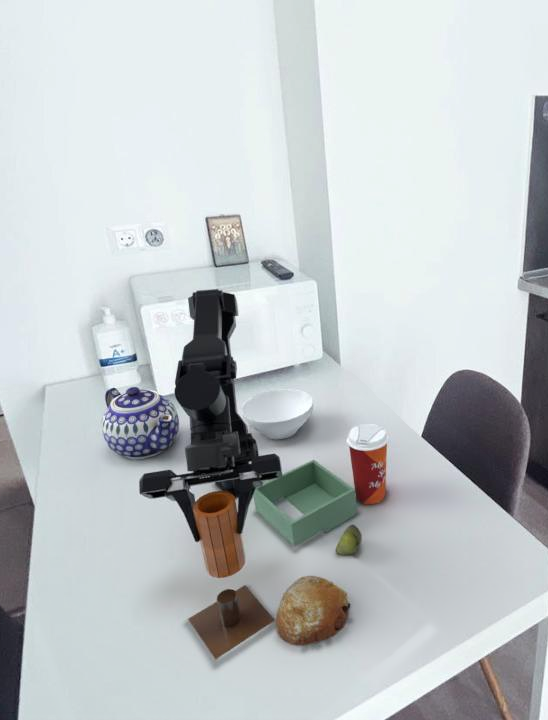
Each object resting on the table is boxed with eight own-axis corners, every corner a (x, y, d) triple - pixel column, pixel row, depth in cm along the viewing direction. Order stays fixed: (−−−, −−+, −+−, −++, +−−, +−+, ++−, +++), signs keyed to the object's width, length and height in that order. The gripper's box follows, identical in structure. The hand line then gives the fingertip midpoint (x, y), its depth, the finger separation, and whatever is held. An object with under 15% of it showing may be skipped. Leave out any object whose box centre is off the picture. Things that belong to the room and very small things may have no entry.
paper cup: (384, 510, 101) (382, 446, 95) (345, 505, 102) (340, 441, 96) (394, 485, 108) (393, 423, 102) (357, 480, 109) (353, 419, 103)
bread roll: (297, 610, 85) (269, 577, 81) (356, 585, 83) (330, 550, 80) (289, 669, 76) (257, 634, 72) (355, 641, 74) (325, 605, 71)
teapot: (86, 443, 123) (68, 384, 117) (150, 416, 134) (136, 361, 128) (143, 484, 109) (126, 419, 103) (209, 450, 120) (197, 390, 114)
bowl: (329, 425, 129) (327, 399, 126) (280, 457, 117) (277, 429, 114) (281, 408, 137) (278, 383, 134) (230, 437, 125) (226, 410, 122)
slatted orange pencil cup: (200, 563, 79) (186, 502, 75) (234, 544, 83) (223, 485, 78) (216, 584, 76) (203, 522, 71) (252, 564, 79) (241, 503, 75)
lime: (336, 563, 89) (334, 539, 87) (335, 542, 93) (332, 519, 91) (364, 559, 90) (362, 535, 88) (360, 538, 94) (359, 515, 92)
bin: (256, 513, 100) (252, 488, 98) (316, 483, 109) (313, 459, 106) (294, 550, 92) (291, 524, 89) (356, 514, 100) (355, 489, 98)
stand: (188, 623, 78) (181, 595, 76) (246, 589, 84) (241, 562, 82) (216, 665, 72) (209, 635, 70) (276, 625, 78) (271, 596, 76)
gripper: (126, 424, 71) (128, 548, 66) (272, 405, 76) (285, 519, 70) (148, 443, 81) (152, 552, 76) (276, 425, 86) (288, 526, 81)
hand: (218, 537), depth 76 cm, fingers closed on slatted orange pencil cup, 5 cm apart
